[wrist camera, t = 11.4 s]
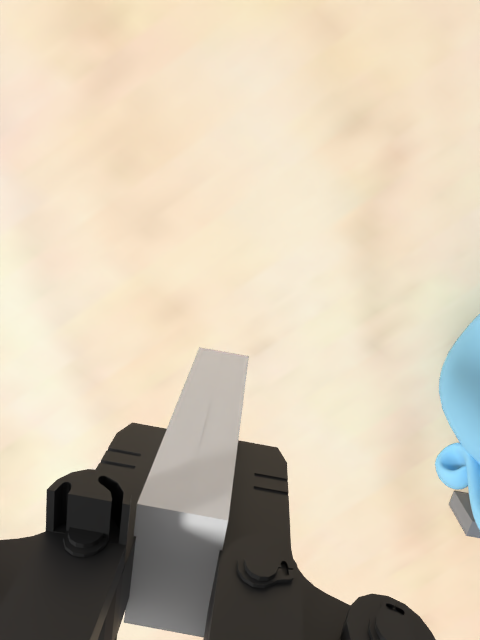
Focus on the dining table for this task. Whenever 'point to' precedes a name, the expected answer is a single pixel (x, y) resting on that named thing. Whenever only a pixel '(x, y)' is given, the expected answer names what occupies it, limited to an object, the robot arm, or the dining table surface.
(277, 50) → the dining table surface
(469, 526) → the grey piece
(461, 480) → the decorative pot
